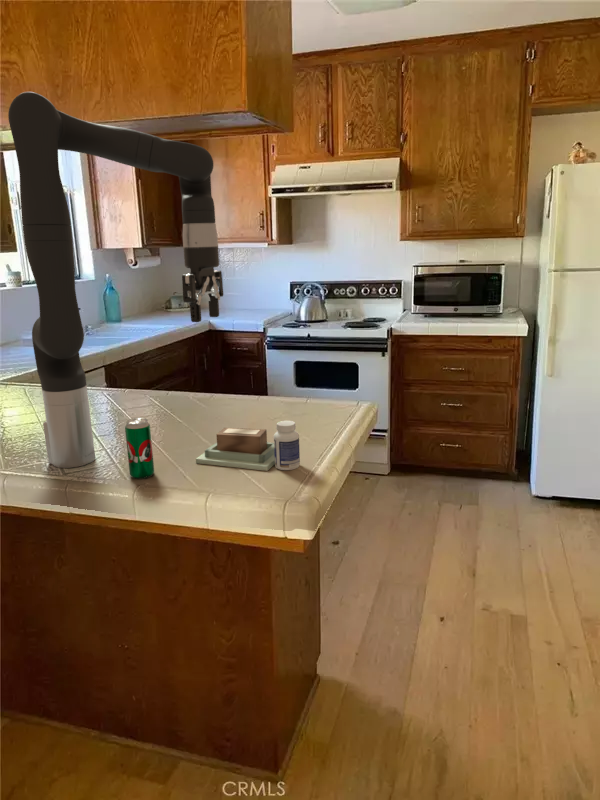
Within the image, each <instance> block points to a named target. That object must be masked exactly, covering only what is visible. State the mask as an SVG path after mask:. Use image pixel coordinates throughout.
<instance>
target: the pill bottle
mask: <svg viewBox="0 0 600 800" xmlns="http://www.w3.org/2000/svg"><path fill="white" fill-rule="evenodd" d="M296 427H297V426H296V422H295V421H293V420H281V421H278V422H277V423H276V428H275V429H276V431H275V433H274V434H273V443H274V455H275V464H274V467H275V468H276V469H278V470H281V471H291V470H295V469H297V468H299V467H300V465H301V464H300V463H301V461H300V460H301V459H300V457H301V456H300V435H299V432H298V431H296Z"/></svg>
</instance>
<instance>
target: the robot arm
mask: <svg viewBox="0 0 600 800" xmlns="http://www.w3.org/2000/svg"><path fill="white" fill-rule="evenodd" d="M7 115H8V116H7V117H8V123H9V127H10V133H11V136H12V139H13V144H14V148H15V154H16V159H17V164H18V165H17V166H18V170H19V171H18V172H19V191H20V192H19V193H20V210H21V211H20V212H21V225H22V233H23V240H24V248H25V252H26V256H27V260H28V264H29V267H30V270H31V273H32V276H33V279H34V281H35V285H36V289H37V295H38V301H39V305H38V306H39V317H38V318H37V319H36V320H35V321H34V324H33V326H32V330H31V338H32V339H31V340H32V346H33V347H32V348H33V354H34V359H35V364H36V365H35V366H36V371H37V375H38V378H39V381H40V385H41V393H42V400H43V401H42V402H43V405H44V406H43V407H44V408H43V409H44V414H45V420H46V421H44V422H43V424H42V425H43V433H44V441H45V447H46V454H47V462H48V464H51V465H52V466H53V467H57V468H62V469H64V468H65V469H67V468H68V469H69V468H77V467H82V466H85V465H88V464H91V463H92V462H94V460H96V452H95V444H94V435H93V427H92V426H93V425H92V418H91V411H90V409H91V408H90V401H89V395H88V386H87V379H86V378H87V377H86V373H85V371H84V368H83V366H82V362H81V357H80V351H81V349H82V347H83V345H84V341H85V340H84V339H85V334H84V328H83V323H82V318H81V314H80V313H81V312H80V310H79V304H78V298H77V294H76V293H77V292H76V279H75V278H76V275H75V273H76V271H75V258H74V256H75V255H74V243H73V242H74V241H73V232H72V231H73V230H72V223H71V216H70V212H69V211H70V210H69V205H68V201H67V198H66V193H65V190H64V185H63V182H62V179H61V174H60V168H59V151H68V152H75V153H81V154H84V155H85V154H86V155H91V156H95V157H98V158H103V159H106V160H109V161H111V162H116V163H119V164H123V165H126V166H130V167H133V168H137V169H141V170H143V171H148V172H154V173H165V174H168V175H169V174H170V175H173V176H176V177H178V180H179V188H180V194H181V215H182V216H181V217H182V218H181V219H182V245H183V247H182V248H183V260H184V267H185V268H187V269H190V272H189V273H187V274H186V273H183V274H182V275H181V277H182V278H181V281H182V284H181V285H182V300H183V303H187V304H188V305H189V309H190V321H191V322H192V323H200V322H202V309H201V308H202V307H201V300H202V298H203V297H204V296H205V295H206V296H207V299H208V313H209V317H210V318H219V316H220V305H219V301H220V300H221V297H223V298H224V287H223V286H224V284H223V283H224V282H223V274H222V270H218V269H217V270H215V268H218V267H219V265H220V258H219V257H220V256H219V241H218V231H217V225H216V224H217V223H216V210H215V209H216V208H215V203H214V202H215V201H214V199H213V196H212V182H211V175H212V173H213V169H214V159H213V156H212V155H211V153H210V152H209V151H208V150H207V149H205V148H204V147H203V146H200V145H197V144H193V143H191V142H190V143H189V142H184V141H177V140H171V139H166V138H163V137H160V136H157V135H153V134H150V133H147V132H142V131H140V130H135V129H130V128H126V127H121V126H114V125H113V126H112V125H107V124H106V125H104V124H99V123H95V122H90V121H87V120H83V119H81V118H77V117H75V116H72V115H69V114H67V113H65V112H64V111H63V112H62V111H61V110H58V109H57V108H56V106H55V105H54V104H53V103H52V102H51V101H50V100H49V99H48V98H46V97H45V96H43V95H42V94H40V93H38V92H33V91H24V92H21V93H19V94H17V96H16V97H15V98H14V99H12V102H11V103H10V105H9V108H8V114H7Z"/></svg>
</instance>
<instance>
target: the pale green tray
mask: <svg viewBox="0 0 600 800" xmlns="http://www.w3.org/2000/svg"><path fill="white" fill-rule="evenodd" d="M195 464H201V465H212V466H218V467H220V466H221V467H229V468H237V469H248V470H256V471H257V470H258V471H266V472H268V471H269V470H270V469H271V468H272V467H273V466H275V455H274V442H270V441H267V450H265V451H264V452H263V453H262V454H261V455H259V454H249V453H239V452H229V451H219V450H217V442H215V443H213V445H211V446H209V447H208V448H206V449H205V450H204V452H203V453H202V454H201V455H199V456H198V457H196V458H195Z"/></svg>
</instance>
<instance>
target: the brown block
mask: <svg viewBox="0 0 600 800" xmlns="http://www.w3.org/2000/svg"><path fill="white" fill-rule="evenodd" d="M267 432H268V431H267V429H264V428H263V429H262V428H261V429H259V428H239V427H223V428H222V429H220V430H219V432H218V433H216V443H217V450H219V451H229V452H239V453H249V454H259V455H261V454H262V453H263V452H264V451H265V450H267V442H268V437H267V435H268V433H267Z"/></svg>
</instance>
